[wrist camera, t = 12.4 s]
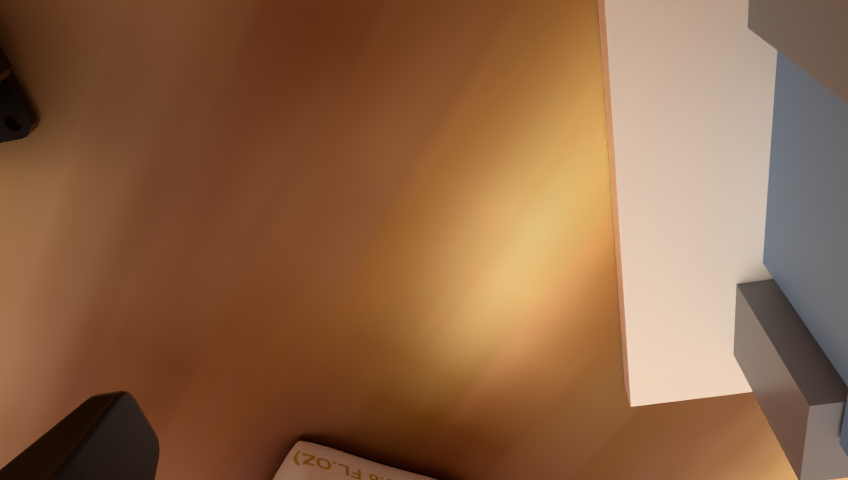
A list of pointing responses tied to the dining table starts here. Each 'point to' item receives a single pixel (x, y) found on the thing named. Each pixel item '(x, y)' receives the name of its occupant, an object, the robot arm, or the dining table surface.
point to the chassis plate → (714, 208)
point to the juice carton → (335, 466)
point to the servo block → (810, 210)
